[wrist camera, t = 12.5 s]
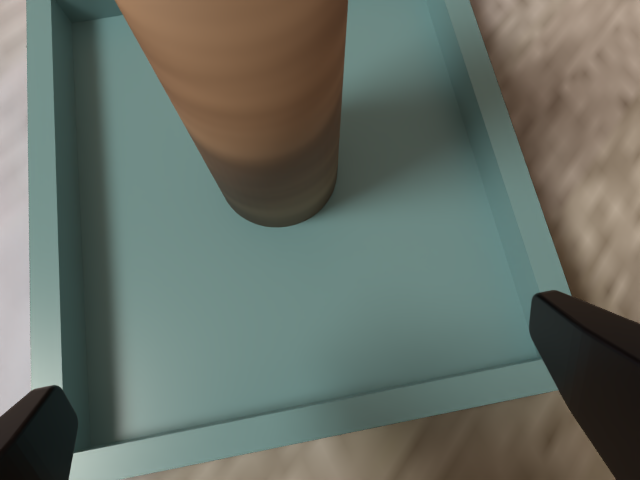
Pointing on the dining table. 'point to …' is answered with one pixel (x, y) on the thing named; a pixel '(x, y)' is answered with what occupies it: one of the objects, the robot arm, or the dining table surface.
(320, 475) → the dining table surface
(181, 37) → the shaker
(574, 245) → the dining table surface
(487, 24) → the dining table surface
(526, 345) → the tray
